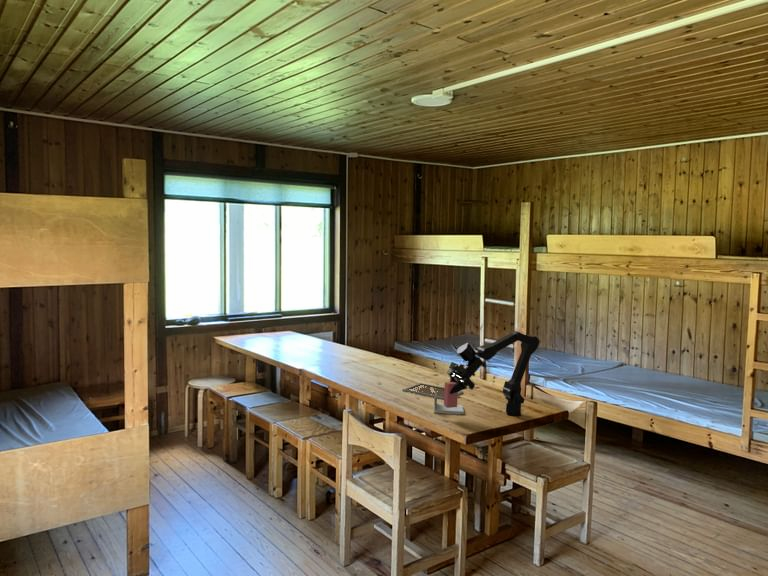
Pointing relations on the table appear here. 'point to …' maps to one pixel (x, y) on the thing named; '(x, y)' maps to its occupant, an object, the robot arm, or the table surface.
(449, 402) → the tall pink rectangular prism
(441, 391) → the gray perforated panel
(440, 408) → the shelf
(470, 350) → the robot arm
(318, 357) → the table surface
